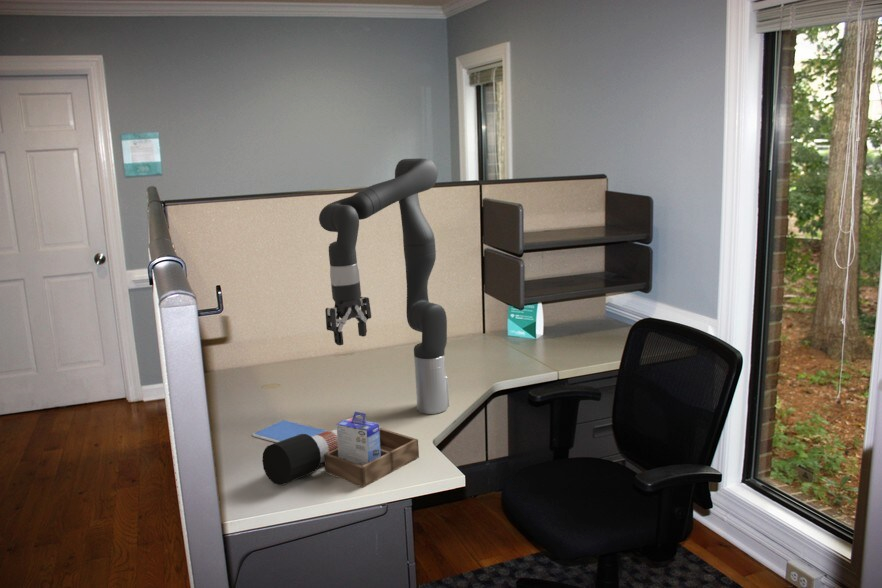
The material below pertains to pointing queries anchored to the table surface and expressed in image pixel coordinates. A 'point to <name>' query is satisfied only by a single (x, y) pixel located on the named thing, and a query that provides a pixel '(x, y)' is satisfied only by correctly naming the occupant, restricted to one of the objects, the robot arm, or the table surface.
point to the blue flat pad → (286, 431)
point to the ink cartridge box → (358, 440)
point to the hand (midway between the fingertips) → (351, 340)
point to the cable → (297, 456)
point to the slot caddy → (393, 456)
